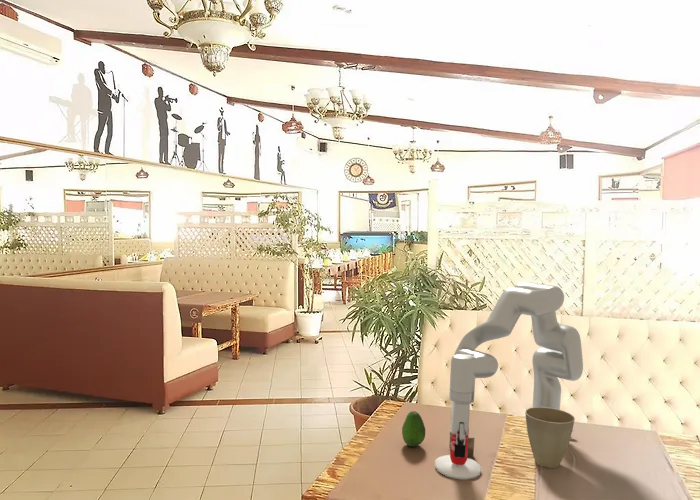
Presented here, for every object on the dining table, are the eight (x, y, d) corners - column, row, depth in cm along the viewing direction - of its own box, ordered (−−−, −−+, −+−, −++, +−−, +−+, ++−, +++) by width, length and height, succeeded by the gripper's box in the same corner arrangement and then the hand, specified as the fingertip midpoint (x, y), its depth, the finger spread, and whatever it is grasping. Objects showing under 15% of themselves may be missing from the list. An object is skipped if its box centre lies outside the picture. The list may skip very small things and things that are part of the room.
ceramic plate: (478, 461, 171) (478, 457, 171) (483, 481, 157) (483, 477, 157) (434, 456, 173) (434, 453, 173) (435, 476, 159) (435, 472, 159)
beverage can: (467, 466, 162) (469, 428, 161) (449, 464, 163) (451, 426, 162) (466, 458, 167) (468, 422, 166) (449, 456, 168) (451, 420, 167)
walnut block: (465, 448, 181) (466, 430, 181) (473, 455, 175) (474, 437, 175) (449, 448, 180) (450, 431, 180) (456, 456, 174) (457, 438, 174)
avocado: (398, 447, 179) (400, 412, 178) (405, 439, 186) (406, 405, 185) (421, 452, 176) (423, 417, 175) (427, 443, 183) (429, 409, 182)
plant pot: (569, 457, 177) (573, 410, 176) (573, 477, 163) (576, 426, 162) (522, 449, 182) (525, 403, 181) (521, 468, 168) (524, 418, 167)
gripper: (448, 385, 173) (445, 440, 174) (450, 403, 156) (447, 463, 157) (471, 387, 172) (468, 442, 173) (476, 405, 155) (473, 466, 156)
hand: (458, 452), depth 165 cm, fingers open, 5 cm apart
